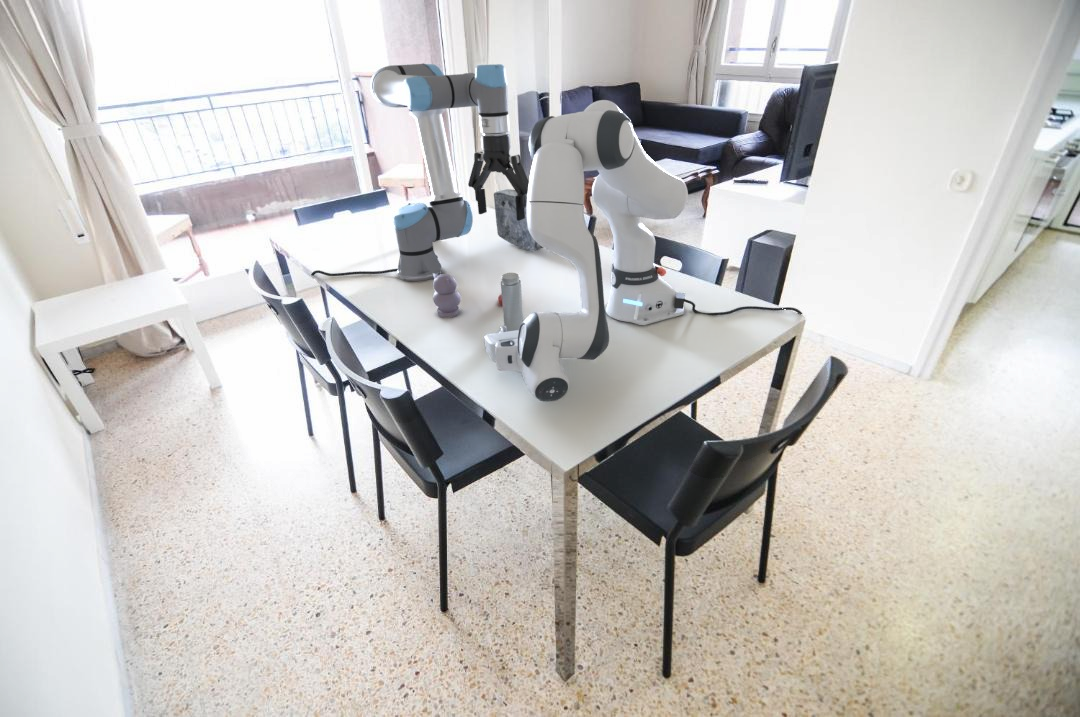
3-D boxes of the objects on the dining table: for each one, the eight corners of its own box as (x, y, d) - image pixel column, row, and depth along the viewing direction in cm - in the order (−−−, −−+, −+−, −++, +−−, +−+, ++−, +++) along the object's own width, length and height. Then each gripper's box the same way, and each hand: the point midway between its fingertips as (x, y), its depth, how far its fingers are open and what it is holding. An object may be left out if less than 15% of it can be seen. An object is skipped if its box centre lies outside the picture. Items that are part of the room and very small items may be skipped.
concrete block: (553, 252, 189) (552, 199, 179) (534, 258, 185) (532, 204, 175) (514, 236, 208) (511, 187, 198) (496, 241, 204) (492, 191, 193)
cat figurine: (468, 312, 148) (463, 274, 142) (447, 321, 143) (441, 282, 137) (450, 304, 153) (445, 267, 147) (429, 313, 148) (423, 275, 142)
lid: (522, 302, 153) (522, 296, 152) (509, 309, 149) (508, 303, 148) (507, 297, 157) (507, 291, 156) (494, 304, 153) (493, 298, 152)
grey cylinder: (500, 330, 138) (496, 277, 130) (511, 322, 142) (507, 270, 133) (516, 334, 135) (513, 281, 127) (527, 326, 139) (524, 273, 131)
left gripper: (449, 133, 132) (459, 213, 143) (525, 138, 119) (529, 225, 130) (468, 129, 137) (476, 207, 148) (543, 134, 124) (545, 218, 135)
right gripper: (577, 334, 114) (560, 309, 125) (489, 347, 110) (480, 320, 121) (577, 358, 117) (560, 331, 129) (491, 371, 113) (482, 343, 125)
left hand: (501, 216), depth 139 cm, fingers open, 13 cm apart
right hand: (521, 326), depth 125 cm, fingers open, 8 cm apart
